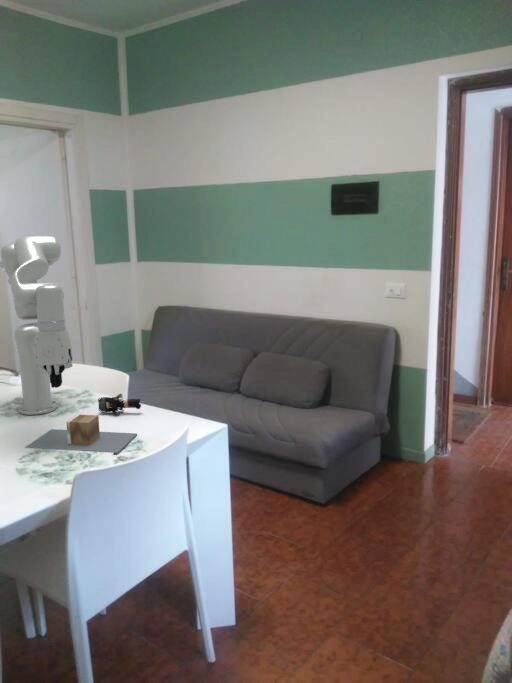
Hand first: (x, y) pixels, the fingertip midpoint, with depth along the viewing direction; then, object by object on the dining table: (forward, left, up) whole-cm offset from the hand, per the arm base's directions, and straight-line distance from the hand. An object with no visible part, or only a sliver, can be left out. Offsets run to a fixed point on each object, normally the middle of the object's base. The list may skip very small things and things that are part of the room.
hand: (56, 386), depth 173 cm
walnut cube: (+4, 0, -13) cm, 14 cm away
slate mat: (+7, 0, -18) cm, 19 cm away
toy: (+8, +28, -18) cm, 34 cm away
